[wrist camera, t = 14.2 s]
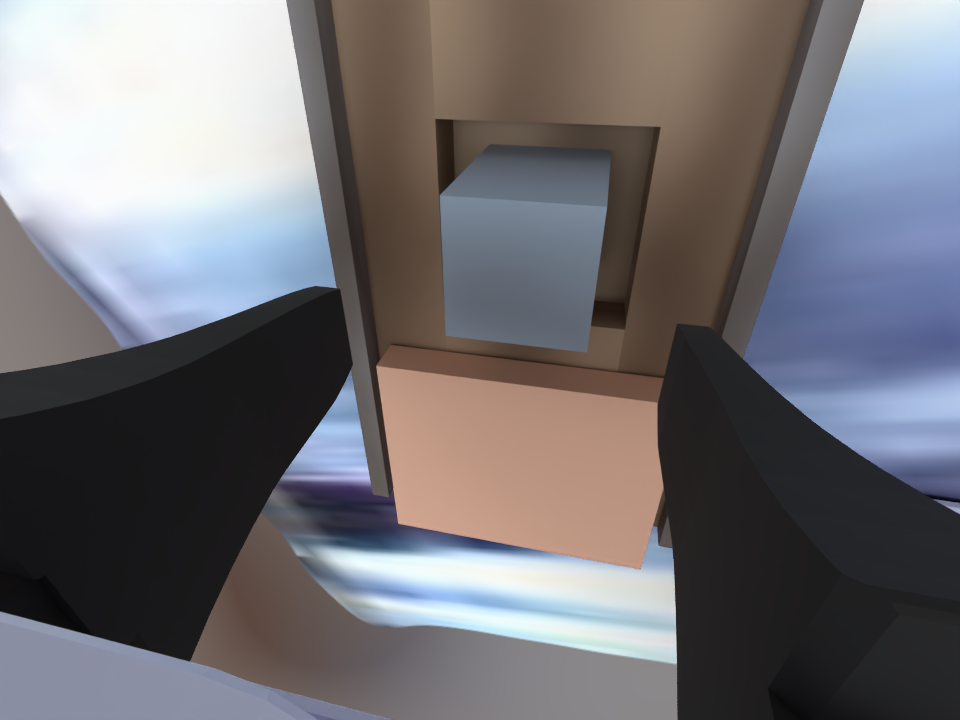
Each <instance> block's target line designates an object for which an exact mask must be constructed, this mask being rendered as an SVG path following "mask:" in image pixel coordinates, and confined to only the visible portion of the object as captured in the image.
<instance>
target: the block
mask: <svg viewBox="0 0 960 720" xmlns="http://www.w3.org/2000/svg"><path fill="white" fill-rule="evenodd" d="M610 161H611V150H604V149H583V148H562V147H541V146H520V145H499V144H490V145H489V146H488V147H487V148H486V149H485V150H484V151H483V152H482V153H481V154H480V155H479V156H478V157H477V158H476V159H475V160H474V161H473V162H472V163H471V164H470V165H469V166H468V167H467V168H466V169H465V170H464V171H463V172H462V173H461V174H460V175H459V176H458V177H457V178H456V179H455V180H454V181H453V182H452V183H451V184H450V186H449V187H448V188H447V189H446V190H445V191H444V192H443V193H442V194H441V195H440V214H441V237H442V260H443V282H444V305H445V328H446V336H452V337H460V338H469V339H477V340H485V341H494V342H502V343H511V344H519V345H527V346H536V347H544V348H552V349H561V350H569V351H578V352H586V353H587V349H588V342H589V335H590V327H591V320H592V313H593V306H594V299H595V291H596V284H597V277H598V270H599V262H600V255H601V248H602V241H603V233H604V226H605V219H606V212H607V202H608V189H609V175H610Z"/></svg>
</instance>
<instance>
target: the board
mask: <svg viewBox="0 0 960 720" xmlns="http://www.w3.org/2000/svg"><path fill="white" fill-rule="evenodd" d="M286 1H287V7H288V13H289V18H290V24H291V30H292V36H293V41H294V47H295V53H296V58H297V64H298V70H299V75H300V81H301V87H302V93H303V98H304V104H305V110H306V115H307V121H308V127H309V132H310V138H311V144H312V150H313V155H314V161H315V167H316V172H317V178H318V184H319V189H320V195H321V201H322V207H323V212H324V218H325V224H326V229H327V235H328V241H329V246H330V252H331V258H332V264H333V269H334V275H335V281H336V286H337V288H338V289H340V291H341V296H342V302H343V308H344V314H345V320H346V326H347V332H348V337H349V343H350V349H351V355H352V361H353V366H352V368H351V372H352V377H353V383H354V389H355V395H356V400H357V406H358V412H359V417H360V423H361V429H362V434H363V440H364V446H365V452H366V457H367V463H368V469H369V474H370V480H371V486H372V491H373V494H374V495H380V496H385V497H389V496H390V494H391V492H392V490H393V481H392V474H391V467H390V460H389V453H388V446H387V439H386V432H385V425H384V417H383V410H382V403H381V396H380V389H379V382H378V375H377V368H376V365H377V364H378V363H379V361H380V360H381V358H382V357H383V355H384V354H385V352H386V351H387V350H388V348H389V347H390V345H396V346H404V347H413V348H421V349H429V350H437V351H445V352H453V353H462V354H470V355H478V356H486V357H494V358H503V359H511V360H519V361H527V362H535V363H543V364H552V365H560V366H568V367H576V368H584V369H593V370H601V371H609V372H617V373H625V374H633V375H642V376H650V377H658V378H664V375H665V371H666V367H667V363H668V359H669V355H670V351H671V346H672V342H673V338H674V334H675V330H676V326H677V323H678V324H687V325H697V326H707V327H711V328H712V329H713V330H714V331H715V332H716V333H717V334H718V335H719V336H720V337H721V338H722V339H723V340H724V341H725V342H726V343H727V344H728V345H729V346H730V347H731V348H732V349H733V350H734V351H735V352H736V353H737V354H738V355H739V356H740V357H741V358H742V359H743V357H744V354H745V351H746V348H747V345H748V342H749V339H750V336H751V333H752V330H753V327H754V324H755V321H756V318H757V315H758V312H759V309H760V306H761V303H762V301H763V298H764V295H765V292H766V289H767V286H768V283H769V280H770V277H771V274H772V271H773V268H774V265H775V262H776V259H777V256H778V253H779V250H780V247H781V244H782V241H783V238H784V236H785V233H786V230H787V227H788V224H789V221H790V218H791V215H792V212H793V209H794V206H795V203H796V200H797V197H798V194H799V191H800V188H801V185H802V182H803V179H804V176H805V173H806V171H807V168H808V165H809V162H810V159H811V156H812V153H813V150H814V147H815V144H816V141H817V138H818V135H819V132H820V129H821V126H822V123H823V120H824V117H825V114H826V111H827V108H828V106H829V103H830V100H831V97H832V94H833V91H834V88H835V85H836V82H837V79H838V76H839V73H840V70H841V67H842V64H843V61H844V58H845V55H846V52H847V49H848V46H849V43H850V41H851V38H852V35H853V32H854V29H855V26H856V23H857V20H858V17H859V14H860V11H861V8H862V5H863V2H864V0H286ZM490 144H499V145H520V146H541V147H562V148H583V149H604V150H611V161H610V175H609V189H608V202H607V212H606V219H605V226H604V233H603V241H602V248H601V255H600V262H599V270H598V277H597V284H596V291H595V299H594V306H593V313H592V320H591V327H590V335H589V342H588V349H587V353H586V352H578V351H569V350H561V349H552V348H544V347H536V346H527V345H519V344H511V343H502V342H494V341H485V340H477V339H469V338H460V337H452V336H446V328H445V305H444V282H443V260H442V237H441V214H440V195H441V194H442V193H443V192H444V191H445V190H446V189H447V188H448V187H449V186H450V184H451V183H452V182H453V181H454V180H455V179H456V178H457V177H458V176H459V175H460V174H461V173H462V172H463V171H464V170H465V169H466V168H467V167H468V166H469V165H470V164H471V163H472V162H473V161H474V160H475V159H476V158H477V157H478V156H479V155H480V154H481V153H482V152H483V151H484V150H485V149H486V148H487V147H488V146H489V145H490ZM653 526H655V527H657V529H658V544H659V546H662V547H668V548H672V539H671V533H670V526H669V520H668V513H667V506H666V500H665V493H664V488H663V492H662V495H661V499H660V502H659V506H658V510H657V513H656V517H655V520H654V524H653Z"/></svg>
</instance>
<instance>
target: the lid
mask: <svg viewBox="0 0 960 720" xmlns="http://www.w3.org/2000/svg"><path fill="white" fill-rule="evenodd" d="M376 368H377V375H378V382H379V389H380V396H381V403H382V410H383V417H384V425H385V432H386V439H387V446H388V453H389V460H390V467H391V474H392V481H393V488H394V495H395V502H396V509H397V516H398V523H399V524H403V525H409V526H414V527H419V528H425V529H430V530H435V531H440V532H446V533H451V534H456V535H461V536H467V537H472V538H477V539H482V540H488V541H493V542H498V543H504V544H509V545H514V546H519V547H525V548H530V549H535V550H540V551H546V552H551V553H556V554H562V555H567V556H572V557H577V558H583V559H588V560H593V561H598V562H604V563H609V564H614V565H620V566H625V567H630V568H635V569H641V566H642V563H643V559H644V555H645V552H646V548H647V545H648V541H649V538H650V534H651V531H652V527H653V524H654V520H655V517H656V513H657V510H658V506H659V502H660V499H661V495H662V492H663V488H664V487H663V480H662V473H661V466H660V459H659V452H658V435H657V404H658V400H659V396H660V392H661V388H662V384H663V380H664V378H658V377H650V376H642V375H633V374H625V373H617V372H609V371H601V370H593V369H584V368H576V367H568V366H560V365H552V364H543V363H535V362H527V361H519V360H511V359H503V358H494V357H486V356H478V355H470V354H462V353H453V352H445V351H437V350H429V349H421V348H413V347H404V346H396V345H390V347H389V348H388V350H387V351H386V352H385V354H384V355H383V357H382V358H381V360H380V361H379V363H378V364H377V365H376Z"/></svg>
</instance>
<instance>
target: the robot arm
mask: <svg viewBox="0 0 960 720" xmlns="http://www.w3.org/2000/svg"><path fill="white" fill-rule="evenodd" d="M352 366H353V361H352V355H351V349H350V343H349V337H348V332H347V326H346V320H345V314H344V308H343V302H342V296H341V291H340V289H338V288H329V287H319V286H314V287H309V288H305V289H302V290H299V291H296V292H293V293H290V294H287V295H284V296H281V297H279V298H276V299H273V300H271V301H268V302H266V303H263V304H260V305H258V306H255V307H253V308H250V309H247V310H245V311H242V312H240V313H237V314H235V315H232V316H229V317H227V318H224V319H221V320H218V321H215V322H213V323H210V324H207V325H204V326H201V327H198V328H196V329H193V330H190V331H187V332H184V333H181V334H178V335H175V336H172V337H169V338H165V339H162V340H159V341H155V342H152V343H148V344H144V345H141V346H137V347H134V348H130V349H126V350H122V351H118V352H114V353H109V354H104V355H100V356H95V357H90V358H86V359H81V360H76V361H72V362H67V363H63V364H57V365H51V366H46V367H39V368H34V369H27V370H21V371H14V372H7V373H1V374H0V720H392V719H388V718H384V717H380V716H377V715H373V714H369V713H365V712H362V711H358V710H354V709H350V708H346V707H343V706H339V705H335V704H331V703H327V702H324V701H320V700H316V699H312V698H309V697H305V696H301V695H298V694H294V693H290V692H286V691H283V690H278V689H275V688H271V687H267V686H263V685H260V684H256V683H252V682H249V681H246V680H243V679H241V678H238V677H235V676H233V675H230V674H228V673H225V672H223V671H220V670H217V669H215V668H212V667H208V666H204V665H200V664H196V663H193V662H190V660H191V658H192V655H193V653H194V651H195V648H196V646H197V644H198V641H199V639H200V636H201V634H202V632H203V629H204V627H205V625H206V622H207V620H208V617H209V615H210V613H211V611H212V609H213V607H214V604H215V602H216V600H217V598H218V596H219V594H220V592H221V589H222V587H223V585H224V583H225V581H226V579H227V577H228V575H229V572H230V570H231V568H232V566H233V564H234V562H235V560H236V558H237V556H238V554H239V552H240V550H241V549H242V547H243V545H244V543H245V541H246V539H247V537H248V535H249V533H250V531H251V529H252V527H253V525H254V523H255V522H256V520H257V518H258V516H259V514H260V513H261V511H262V509H263V507H264V505H265V504H266V502H267V500H268V498H269V496H270V495H271V493H272V491H273V489H274V488H275V486H276V485H277V483H278V482H279V480H280V478H281V477H282V475H283V474H284V472H285V471H286V469H287V468H288V467H289V465H290V464H291V462H292V461H293V460H294V458H295V457H296V455H297V454H298V453H299V451H300V450H301V448H302V447H303V446H304V444H305V443H306V441H307V440H308V439H309V437H310V436H311V434H312V433H313V432H314V430H315V429H316V427H317V426H318V425H319V423H320V422H321V420H322V419H323V417H324V416H325V415H326V413H327V412H328V410H329V409H330V407H331V406H332V404H333V403H334V401H335V400H336V398H337V396H338V395H339V393H340V391H341V389H342V387H343V385H344V383H345V381H346V379H347V377H348V374H349V372H350V370H351V368H352ZM657 435H658V452H659V459H660V466H661V473H662V480H663V487H664V493H665V500H666V506H667V513H668V520H669V526H670V533H671V539H672V548H673V558H674V575H675V601H676V637H677V696H678V697H677V699H678V700H677V703H678V704H677V706H678V720H960V503H956V502H949V501H942V500H936V499H931V498H930V497H928V496H926V495H924V494H922V493H921V492H919V491H917V490H916V489H914V488H912V487H911V486H909V485H907V484H906V483H904V482H902V481H901V480H899V479H897V478H896V477H894V476H892V475H891V474H889V473H887V472H886V471H884V470H882V469H881V468H879V467H878V466H876V465H875V464H873V463H871V462H870V461H868V460H867V459H865V458H864V457H862V456H861V455H859V454H858V453H856V452H855V451H853V450H852V449H850V448H849V447H848V446H846V445H845V444H843V443H842V442H841V441H839V440H838V439H836V438H835V437H833V436H832V435H831V434H829V433H828V432H826V431H825V430H824V429H822V428H821V427H820V426H818V425H817V424H816V423H814V422H813V421H812V420H811V419H809V418H808V417H807V416H806V415H804V414H803V413H802V412H801V411H800V410H798V409H797V408H796V407H795V406H794V405H792V404H791V403H790V402H789V401H788V400H786V399H785V398H784V397H783V396H782V395H781V394H779V393H778V392H777V391H776V390H775V389H774V388H773V387H772V386H770V385H769V384H768V383H767V382H766V381H765V380H764V379H763V378H762V377H761V376H760V375H759V374H758V373H757V372H756V371H755V370H753V369H752V368H751V367H750V366H749V365H748V364H747V363H746V362H745V361H744V360H743V359H742V358H741V357H740V356H739V355H738V354H737V353H736V352H735V351H734V350H733V349H732V348H731V347H730V346H729V345H728V344H727V343H726V342H725V341H724V340H723V339H722V338H721V337H720V336H719V335H718V334H717V333H716V332H715V331H714V330H713V329H712V328H711V327H707V326H697V325H687V324H678V323H677V326H676V330H675V334H674V338H673V342H672V346H671V351H670V355H669V359H668V363H667V367H666V371H665V375H664V380H663V384H662V388H661V392H660V396H659V400H658V404H657Z"/></svg>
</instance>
